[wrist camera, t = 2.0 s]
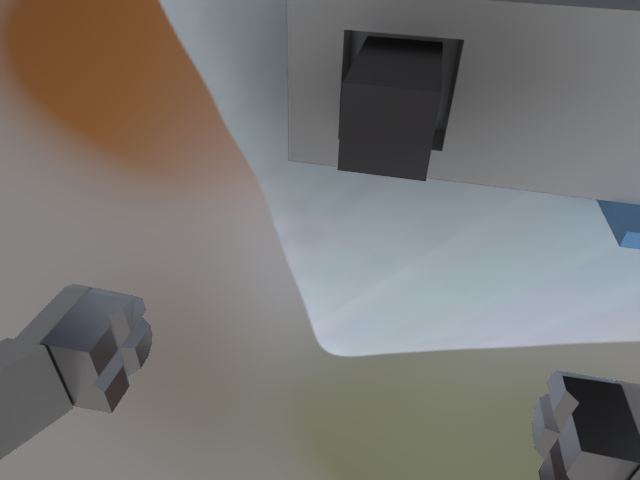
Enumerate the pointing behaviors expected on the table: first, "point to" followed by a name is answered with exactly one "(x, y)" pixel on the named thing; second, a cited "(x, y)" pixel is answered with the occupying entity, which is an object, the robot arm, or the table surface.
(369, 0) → the grey board with holes
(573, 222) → the table surface
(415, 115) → the dark rectangular block
